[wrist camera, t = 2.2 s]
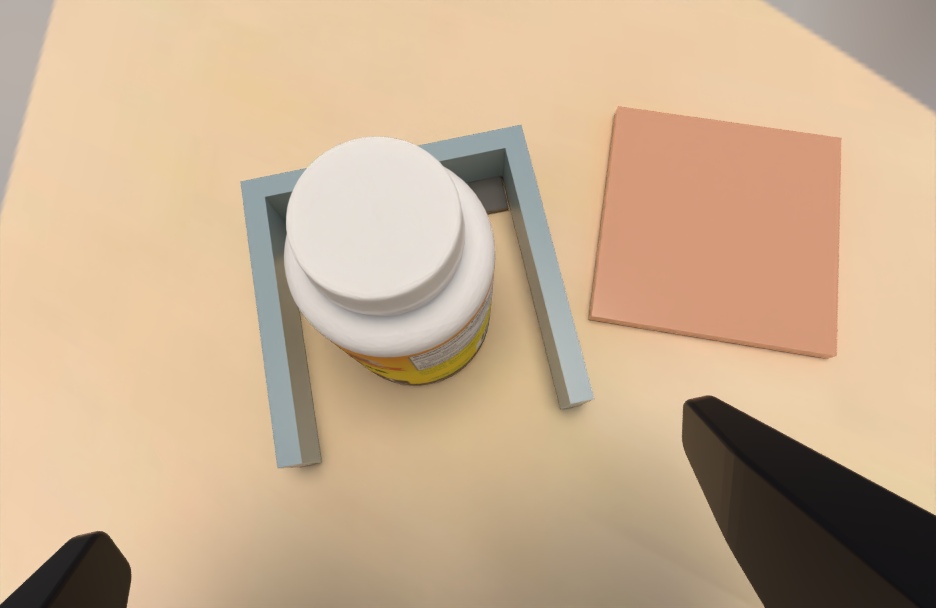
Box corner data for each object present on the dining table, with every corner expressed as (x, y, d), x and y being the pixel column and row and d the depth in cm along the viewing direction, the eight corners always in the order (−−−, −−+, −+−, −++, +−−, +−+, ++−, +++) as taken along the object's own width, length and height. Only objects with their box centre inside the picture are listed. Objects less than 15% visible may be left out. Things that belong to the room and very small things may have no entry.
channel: (581, 404, 22) (594, 398, 20) (300, 467, 22) (277, 468, 19) (517, 157, 25) (521, 124, 22) (264, 209, 24) (240, 181, 22)
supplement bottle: (321, 295, 23) (204, 177, 13) (442, 224, 24) (416, 61, 14) (392, 417, 22) (322, 387, 12) (518, 339, 23) (547, 249, 13)
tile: (827, 358, 22) (836, 355, 22) (588, 319, 23) (591, 315, 22) (832, 145, 24) (841, 138, 24) (614, 114, 25) (618, 106, 24)
